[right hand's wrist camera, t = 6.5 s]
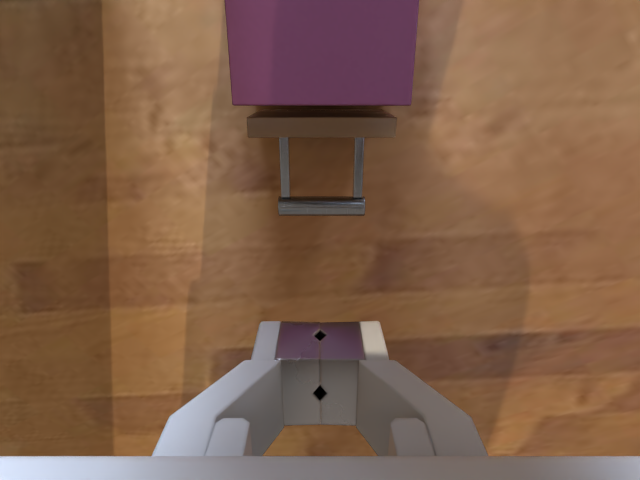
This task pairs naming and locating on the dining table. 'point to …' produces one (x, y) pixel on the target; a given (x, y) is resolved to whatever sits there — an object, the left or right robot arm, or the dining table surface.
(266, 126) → the drawer
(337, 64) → the cabinet
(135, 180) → the dining table surface
